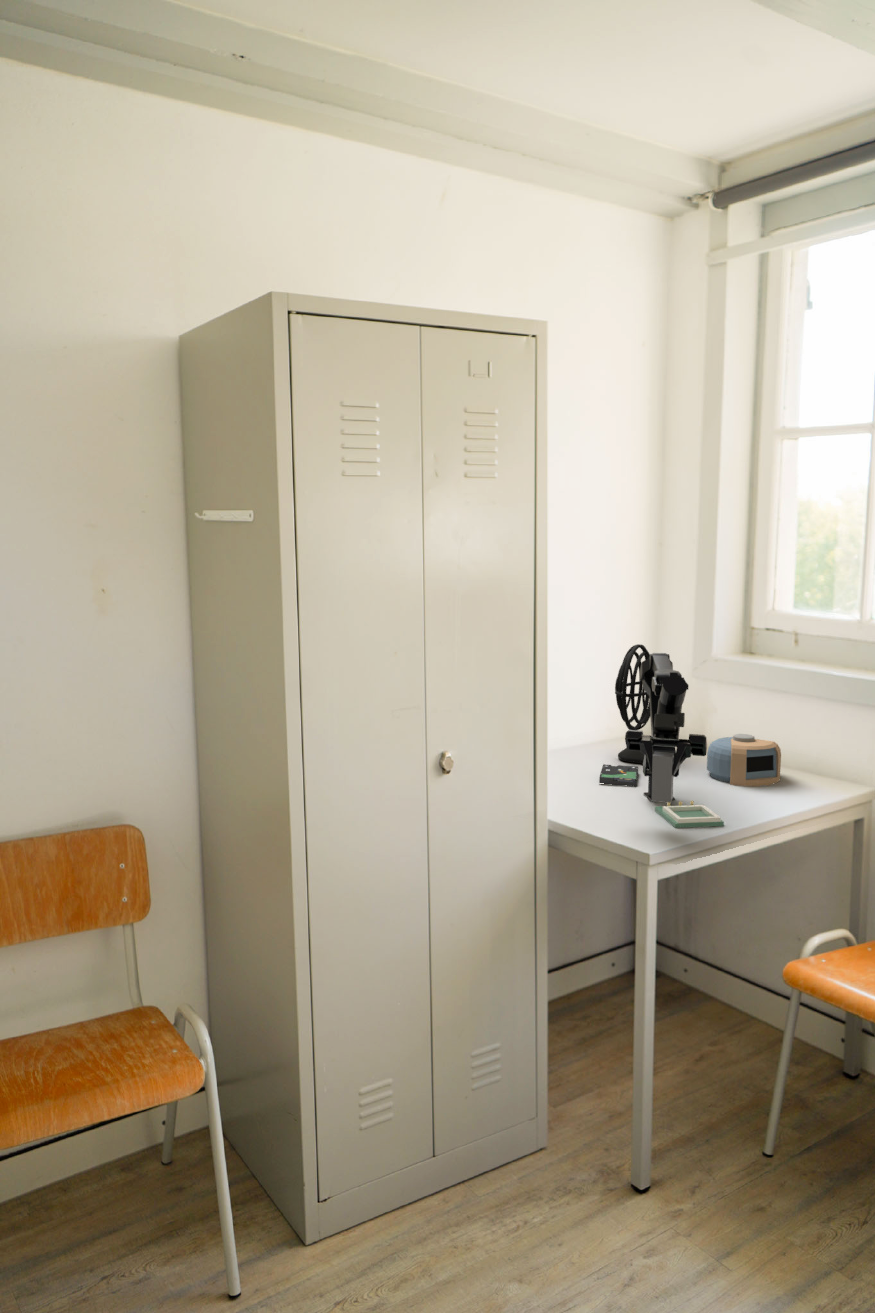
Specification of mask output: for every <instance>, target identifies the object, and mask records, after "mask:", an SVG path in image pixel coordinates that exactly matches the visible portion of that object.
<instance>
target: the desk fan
mask: <svg viewBox="0 0 875 1313" xmlns="http://www.w3.org/2000/svg"><path fill="white" fill-rule="evenodd" d="M638 649H640V650H641V651H642V652H640V654H639V653H638V652H637V650H638ZM650 654H651V653H650V652H649V651H648V649H647V648H646V646H644V645H643V644H635V645H632V646H631V647H630V648H629V649H628V651H627V652H626V654H625V655H624V657H623V660H622V662H621V665H620V667H619V670H618V673H617V677H616V680H615V685H614V693H615V698H616V699H615V700H616V705H617V708H618V709H619V713H620V717H621V719H622V721H623V722H624V723H625V726H626V728H627V729H628V730H642V728H644V727H645V726H646V725H647V724H648V722H649V720H650V702H649V695H648V694H647V693H646V692H645V690H644V689H643V684H642V680H640V668H641V663H642V659H643V657H644V661H645V660H646V659H648V658H649V657H650ZM634 656H635V658H636V662H635V664H634V668H632V666H631V663H632V660H633V658H634ZM637 674H638V675H639V677H638V678H639V679H638V680H639V681H636V680H637ZM629 676H630V677H629ZM629 678H630V682H628V679H629ZM636 685H637V686H638V693H636ZM627 687H630V688H629V693H627ZM627 698H628V699H627ZM635 698H636V699H637V701H635ZM641 701H642V707H643V708H642V712H641V715H640V718H638V713H639V709H640V704H641ZM629 705H631V713H632V715H631V717H630V718H629V715H628V708H629ZM632 722H635V723H637V724H636V725H635V726H634V725H632V724H631V723H632ZM617 757H618V759H619V760H620V761H624V762H626V763H628V762H629V763H636V764H643V761H644V754H641V751H629V750H627V747H626V748H624V749H622V750H621V751H619V752H618V754H617Z"/></svg>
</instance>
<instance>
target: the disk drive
mask: <svg viewBox="0 0 875 1313" xmlns="http://www.w3.org/2000/svg"><path fill="white" fill-rule="evenodd" d="M601 766H602V767H601V770H600V774H599V777H598V778H599V779H598V781H599V782H598V783H604V784H612V785H611V786H618V785H627V786H626V787H633V786H634V787H637V785H638V779H637V778H639V766H635V765H621V764H619V765H617V766H616V765H612V764H604V763H603V764H602V765H601Z"/></svg>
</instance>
